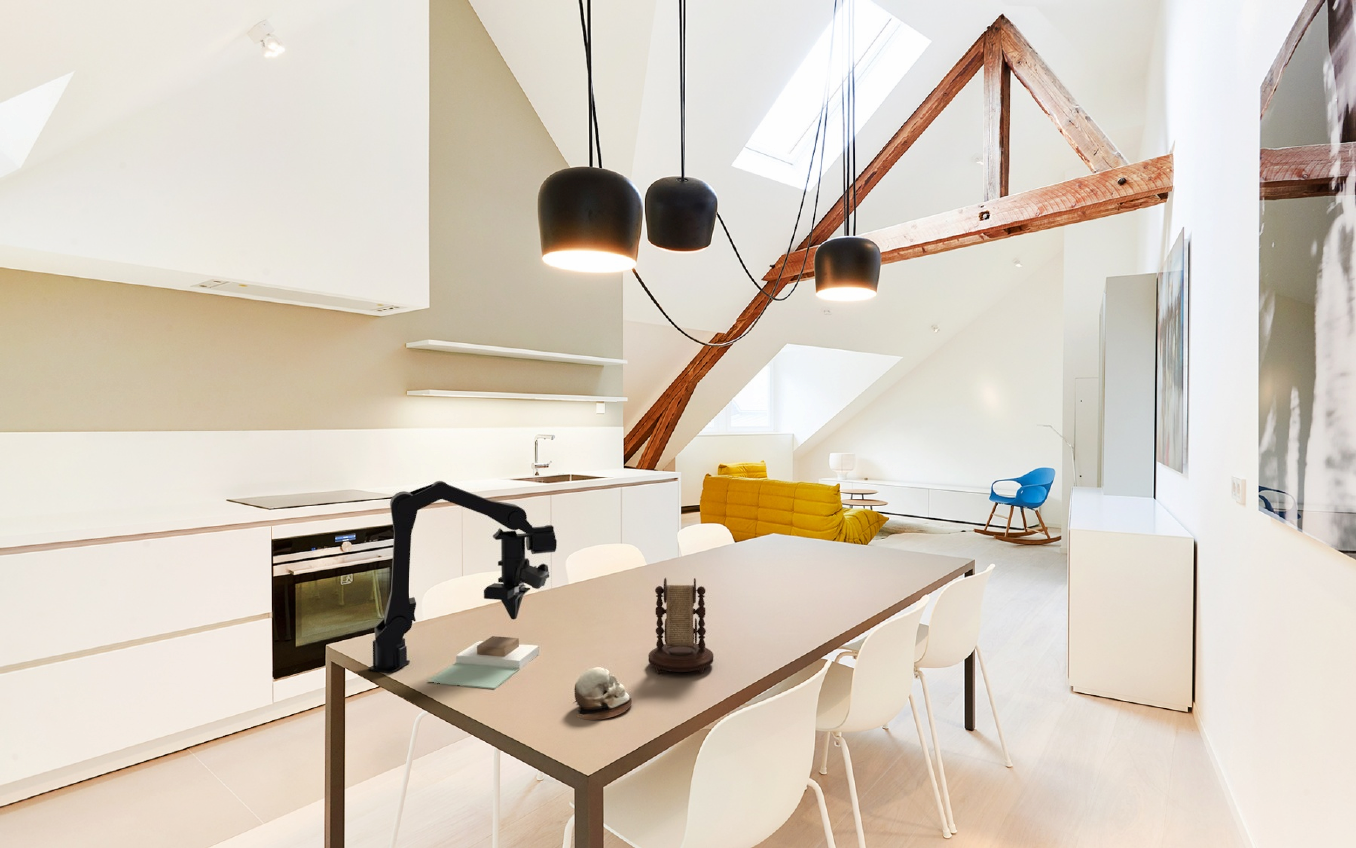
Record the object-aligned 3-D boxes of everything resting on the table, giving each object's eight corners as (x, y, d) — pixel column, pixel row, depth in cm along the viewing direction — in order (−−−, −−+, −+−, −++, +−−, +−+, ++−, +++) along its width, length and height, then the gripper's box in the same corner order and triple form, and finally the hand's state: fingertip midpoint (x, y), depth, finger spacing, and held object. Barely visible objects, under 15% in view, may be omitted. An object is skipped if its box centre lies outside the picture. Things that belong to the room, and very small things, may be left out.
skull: (627, 684, 138) (632, 660, 131) (631, 735, 130) (636, 712, 123) (569, 687, 135) (571, 663, 129) (569, 739, 128) (571, 716, 121)
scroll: (645, 678, 143) (644, 586, 143) (651, 654, 158) (651, 570, 158) (713, 679, 143) (712, 586, 142) (713, 654, 157) (712, 570, 157)
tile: (477, 654, 153) (477, 646, 153) (492, 644, 160) (492, 636, 160) (504, 656, 151) (504, 648, 151) (518, 646, 158) (518, 638, 158)
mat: (427, 682, 142) (427, 681, 142) (455, 664, 153) (455, 663, 153) (494, 689, 138) (494, 687, 138) (519, 670, 149) (519, 668, 149)
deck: (456, 664, 153) (456, 655, 153) (479, 649, 162) (479, 641, 162) (519, 669, 149) (519, 660, 149) (539, 654, 159) (539, 645, 159)
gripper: (525, 565, 152) (526, 633, 152) (559, 549, 170) (559, 610, 171) (482, 563, 155) (482, 630, 155) (519, 548, 173) (520, 607, 173)
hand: (513, 619), depth 163 cm, fingers closed
